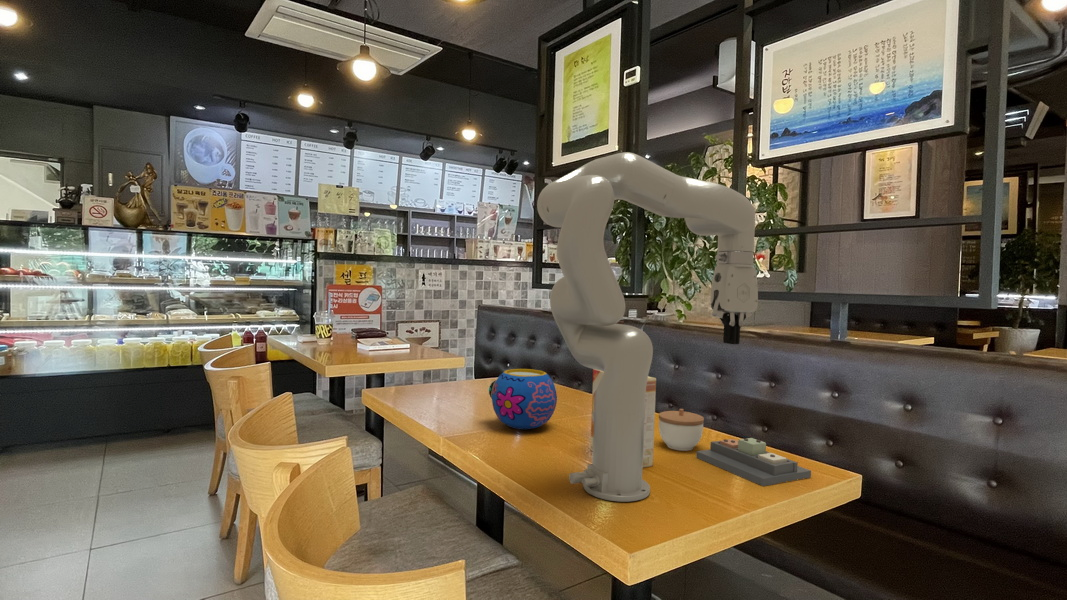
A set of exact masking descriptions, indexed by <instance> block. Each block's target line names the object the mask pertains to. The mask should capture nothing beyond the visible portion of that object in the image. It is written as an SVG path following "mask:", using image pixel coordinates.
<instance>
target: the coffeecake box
mask: <svg viewBox="0 0 1067 600" xmlns="http://www.w3.org/2000/svg"><path fill="white" fill-rule="evenodd" d="M603 373H604V372H603V371H601V370H596V369H592V390H591V391H592V395H591V396H592V397H591V420H590V421H591V422H590V425H591V426H590V446H589V447H590V449H589V451H591V452H593V434H594V409H595V408H594V402H595V393H596V389H597V387H598V384H599V382H600V380H601V378H602V376H603ZM656 389H657V378H656V377H653V376H649V375H648V379H647V385H646V396H645V421H644V445H643V468H647V467H652V466H654V465H653V464H654V444H655V443H654V442H655V439H654V438H655V420H656V419H655V418H656V398H657V397H656V395H657V394H656V393H657V392H656V391H657V390H656Z"/></svg>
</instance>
